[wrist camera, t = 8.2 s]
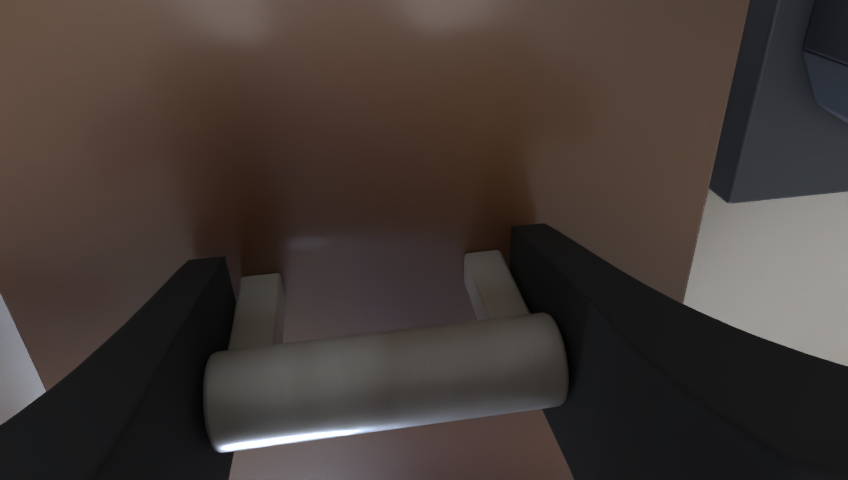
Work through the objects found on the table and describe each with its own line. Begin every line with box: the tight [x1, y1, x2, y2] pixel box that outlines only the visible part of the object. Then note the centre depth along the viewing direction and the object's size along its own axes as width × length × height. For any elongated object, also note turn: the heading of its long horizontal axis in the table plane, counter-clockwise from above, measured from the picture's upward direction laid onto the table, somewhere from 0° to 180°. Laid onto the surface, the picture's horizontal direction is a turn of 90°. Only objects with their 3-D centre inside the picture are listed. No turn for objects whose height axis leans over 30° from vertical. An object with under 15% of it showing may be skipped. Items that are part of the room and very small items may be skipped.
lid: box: [0, 0, 750, 480], centre depth 11 cm, size 12×13×4 cm
